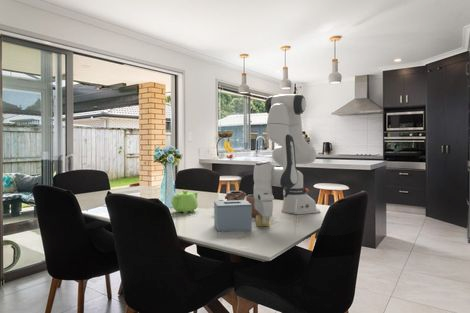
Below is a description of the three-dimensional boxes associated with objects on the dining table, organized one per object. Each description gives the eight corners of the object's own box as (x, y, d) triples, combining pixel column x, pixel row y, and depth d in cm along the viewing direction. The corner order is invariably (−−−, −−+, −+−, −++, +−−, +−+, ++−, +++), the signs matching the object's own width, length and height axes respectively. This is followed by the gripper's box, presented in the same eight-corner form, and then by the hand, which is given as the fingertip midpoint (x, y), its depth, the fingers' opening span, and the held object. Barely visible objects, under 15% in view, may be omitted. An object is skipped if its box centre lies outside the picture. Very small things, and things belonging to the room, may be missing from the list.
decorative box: (217, 208, 197) (217, 193, 197) (231, 203, 215) (231, 188, 215) (236, 210, 192) (236, 194, 191) (249, 204, 210) (249, 189, 209)
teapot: (189, 207, 200) (189, 187, 200) (205, 210, 192) (205, 189, 192) (164, 213, 184) (164, 191, 184) (181, 216, 176) (180, 193, 176)
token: (267, 224, 157) (267, 214, 157) (269, 225, 155) (269, 215, 155) (256, 225, 156) (256, 215, 156) (257, 226, 154) (257, 216, 154)
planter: (264, 212, 185) (264, 194, 184) (271, 217, 173) (271, 197, 172) (243, 213, 182) (243, 194, 182) (249, 218, 170) (249, 198, 170)
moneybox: (246, 223, 160) (245, 199, 160) (251, 230, 148) (251, 204, 148) (214, 225, 157) (214, 201, 157) (217, 231, 145) (217, 205, 145)
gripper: (251, 191, 165) (251, 217, 165) (261, 198, 144) (261, 228, 145) (263, 190, 166) (263, 217, 166) (275, 197, 146) (275, 227, 146)
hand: (262, 222), depth 156 cm, fingers closed on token, 2 cm apart
